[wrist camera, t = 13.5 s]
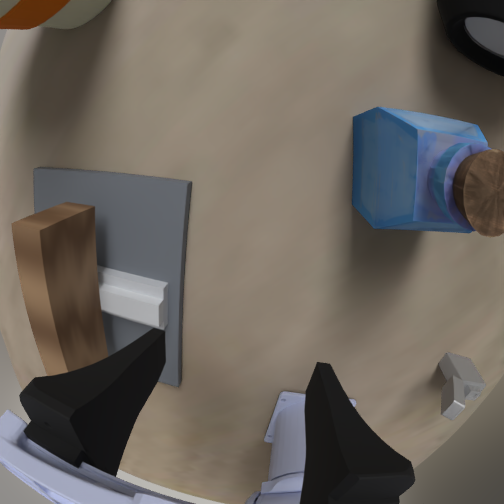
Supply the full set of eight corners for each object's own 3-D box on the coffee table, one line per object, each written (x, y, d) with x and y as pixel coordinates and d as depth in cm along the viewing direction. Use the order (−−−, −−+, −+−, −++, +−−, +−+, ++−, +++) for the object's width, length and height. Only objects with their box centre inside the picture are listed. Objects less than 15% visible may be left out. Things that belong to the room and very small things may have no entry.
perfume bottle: (351, 204, 20) (413, 276, 9) (353, 116, 18) (426, 88, 7) (428, 208, 19) (529, 274, 8) (432, 126, 17) (546, 127, 6)
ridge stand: (181, 380, 28) (172, 400, 26) (60, 337, 29) (47, 351, 27) (192, 181, 21) (177, 187, 18) (40, 166, 22) (18, 172, 19)
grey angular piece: (471, 358, 23) (501, 410, 16) (461, 370, 24) (488, 423, 17) (427, 345, 23) (456, 406, 16) (417, 359, 24) (442, 420, 17)
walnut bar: (110, 368, 25) (81, 409, 20) (86, 358, 25) (56, 396, 20) (95, 206, 19) (39, 230, 14) (66, 201, 20) (11, 223, 14)
